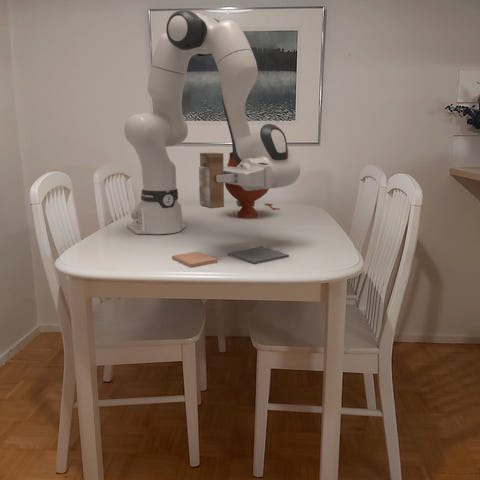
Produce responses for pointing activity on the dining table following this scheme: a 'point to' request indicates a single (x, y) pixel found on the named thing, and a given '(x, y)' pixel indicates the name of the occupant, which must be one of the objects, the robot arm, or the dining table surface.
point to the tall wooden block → (211, 180)
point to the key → (272, 207)
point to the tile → (194, 259)
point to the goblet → (244, 195)
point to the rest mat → (258, 255)
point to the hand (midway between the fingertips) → (209, 177)
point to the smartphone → (239, 204)
